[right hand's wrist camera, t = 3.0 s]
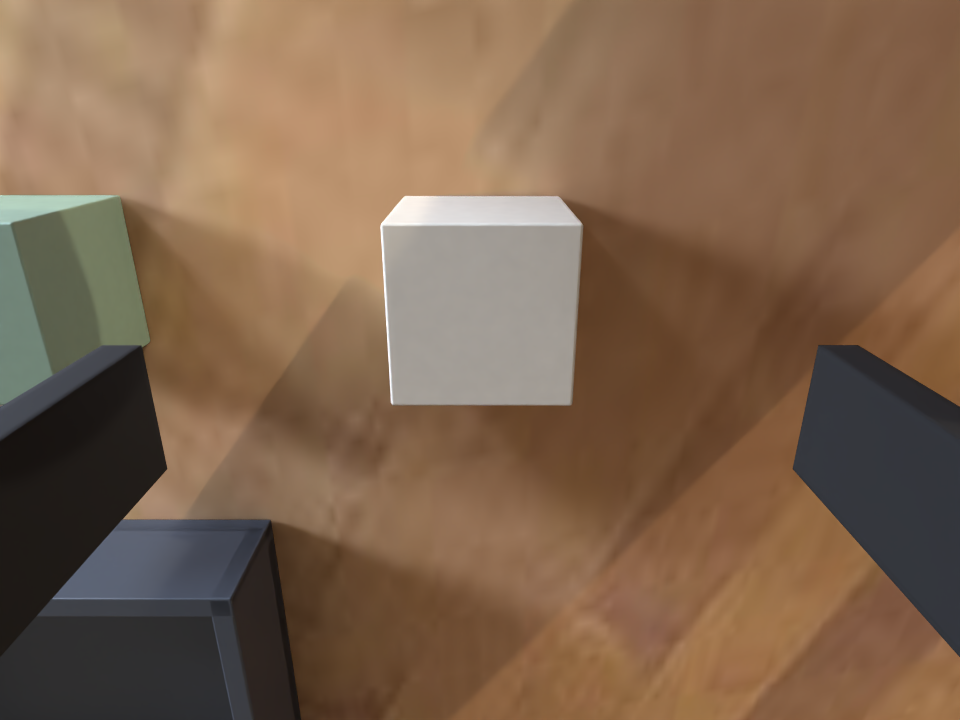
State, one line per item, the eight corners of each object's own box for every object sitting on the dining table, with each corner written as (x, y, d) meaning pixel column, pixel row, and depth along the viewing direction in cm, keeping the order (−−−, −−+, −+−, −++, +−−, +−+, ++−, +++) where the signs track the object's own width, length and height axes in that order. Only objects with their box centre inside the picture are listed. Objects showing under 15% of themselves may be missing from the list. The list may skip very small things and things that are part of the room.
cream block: (410, 342, 22) (390, 406, 17) (403, 196, 20) (380, 223, 15) (553, 342, 22) (572, 406, 17) (559, 195, 20) (584, 223, 15)
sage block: (8, 341, 22) (-119, 405, 17) (-36, 195, 20) (-192, 222, 15) (151, 341, 22) (63, 405, 17) (120, 195, 20) (11, 222, 15)
